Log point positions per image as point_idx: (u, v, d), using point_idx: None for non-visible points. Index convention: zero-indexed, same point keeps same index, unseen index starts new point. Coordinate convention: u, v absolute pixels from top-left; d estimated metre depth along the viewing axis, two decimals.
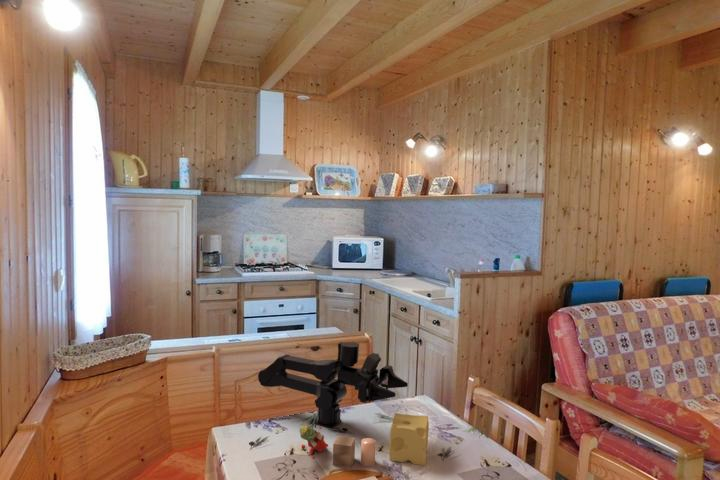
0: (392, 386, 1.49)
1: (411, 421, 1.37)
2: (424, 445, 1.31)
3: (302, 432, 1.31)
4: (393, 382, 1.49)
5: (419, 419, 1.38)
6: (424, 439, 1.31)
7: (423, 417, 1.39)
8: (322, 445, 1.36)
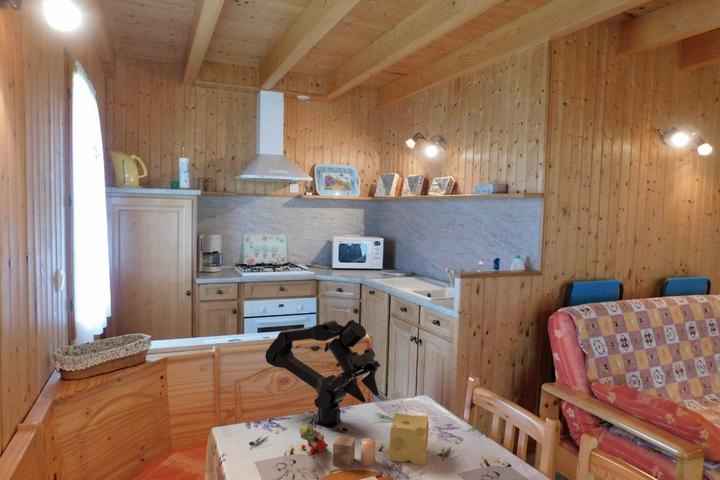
0: (365, 384, 1.50)
1: (411, 421, 1.37)
2: (424, 445, 1.31)
3: (302, 432, 1.31)
4: (368, 382, 1.50)
5: (419, 419, 1.38)
6: (424, 439, 1.31)
7: (423, 417, 1.39)
8: (322, 445, 1.36)
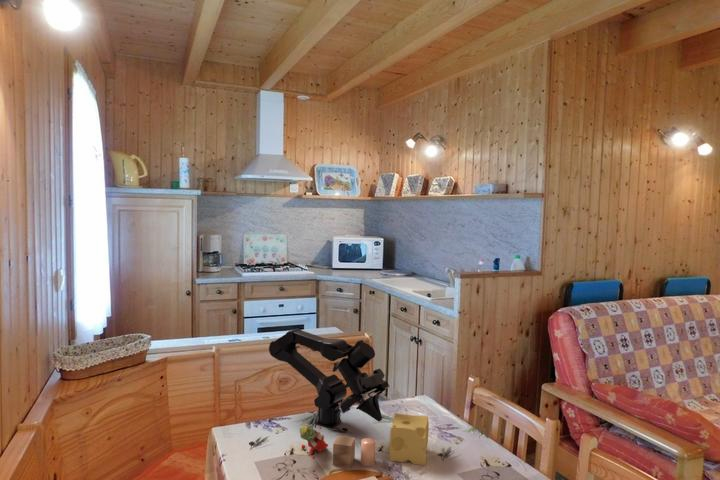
0: None
1: (411, 421, 1.37)
2: (424, 445, 1.31)
3: (302, 432, 1.31)
4: None
5: (419, 419, 1.38)
6: (424, 439, 1.31)
7: (423, 417, 1.39)
8: (322, 445, 1.36)
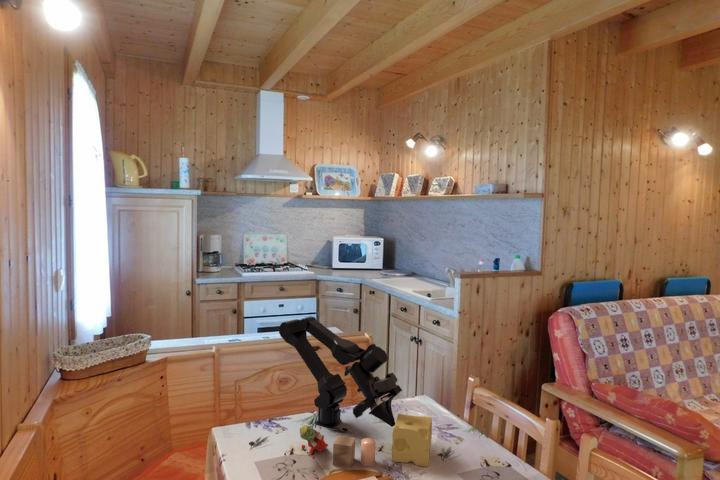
0: None
1: (414, 422, 1.36)
2: (427, 446, 1.30)
3: (302, 432, 1.31)
4: None
5: (422, 420, 1.37)
6: (427, 440, 1.30)
7: (426, 418, 1.39)
8: (322, 445, 1.36)
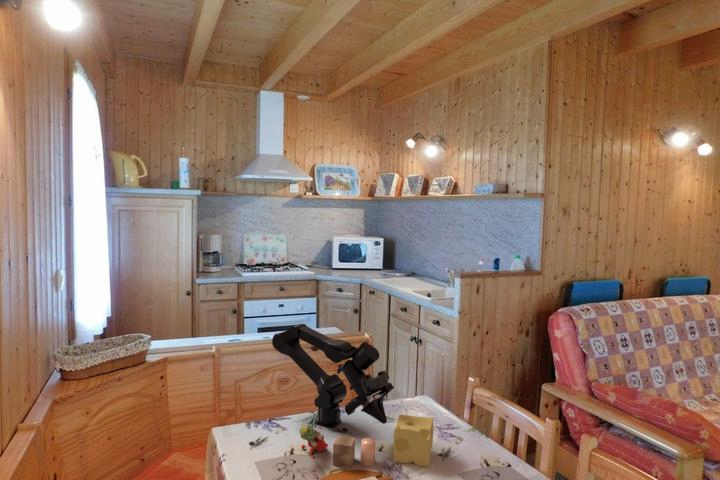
0: None
1: (415, 422, 1.36)
2: (428, 447, 1.30)
3: (302, 432, 1.31)
4: None
5: (424, 420, 1.37)
6: (428, 441, 1.30)
7: (428, 418, 1.38)
8: (322, 445, 1.37)
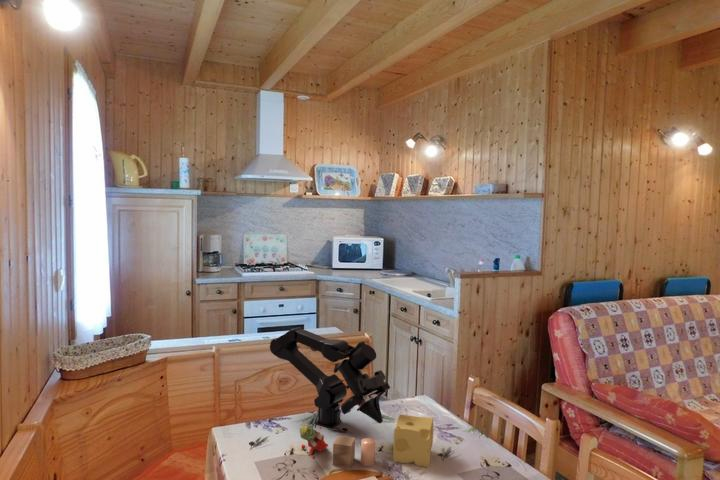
0: None
1: (415, 422, 1.36)
2: (428, 447, 1.30)
3: (302, 432, 1.31)
4: None
5: (424, 420, 1.37)
6: (428, 441, 1.30)
7: (428, 418, 1.38)
8: (322, 445, 1.37)
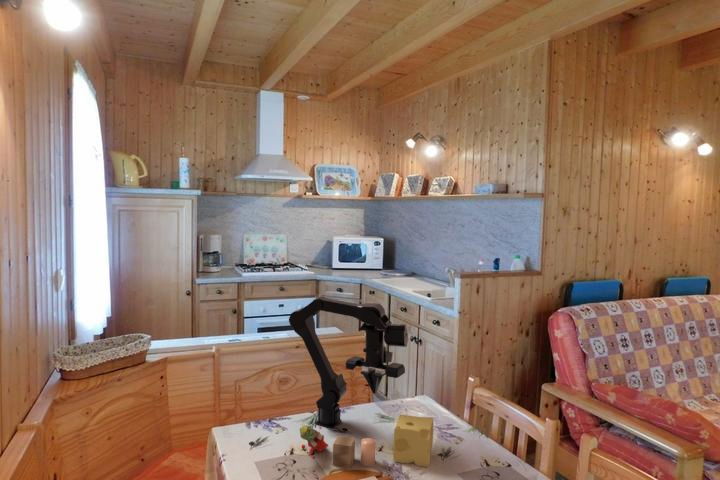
0: (370, 379, 1.48)
1: (415, 422, 1.36)
2: (428, 447, 1.30)
3: (302, 432, 1.31)
4: None
5: (424, 420, 1.37)
6: (428, 441, 1.30)
7: (428, 418, 1.38)
8: (322, 445, 1.37)
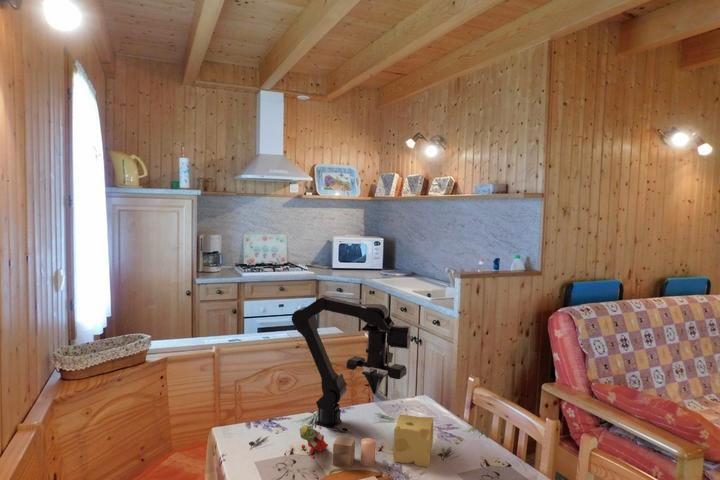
0: (371, 379, 1.49)
1: (415, 422, 1.36)
2: (428, 447, 1.30)
3: (302, 432, 1.31)
4: (373, 379, 1.50)
5: (424, 420, 1.37)
6: (428, 441, 1.30)
7: (428, 418, 1.38)
8: (322, 445, 1.37)
